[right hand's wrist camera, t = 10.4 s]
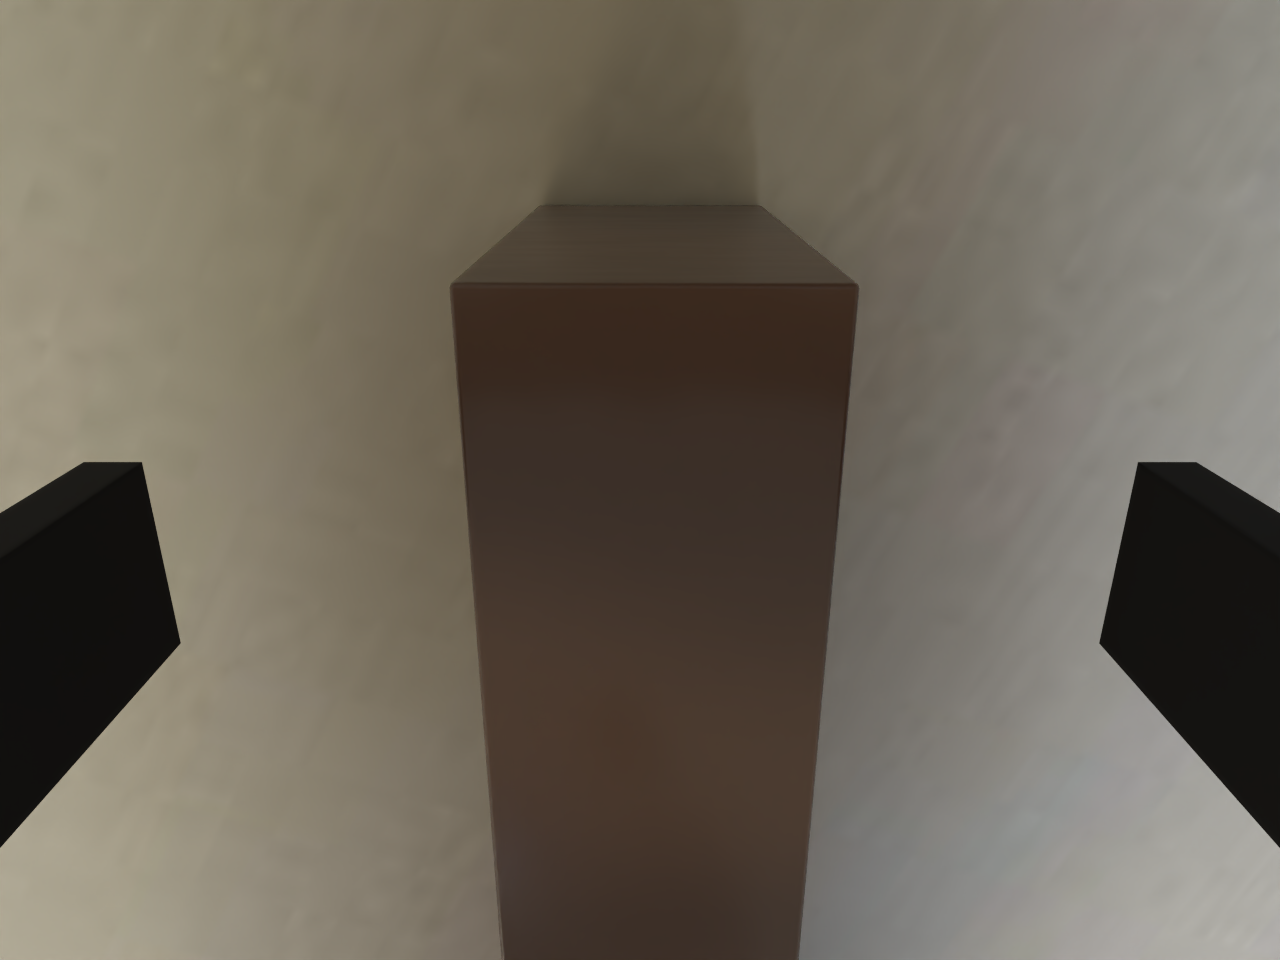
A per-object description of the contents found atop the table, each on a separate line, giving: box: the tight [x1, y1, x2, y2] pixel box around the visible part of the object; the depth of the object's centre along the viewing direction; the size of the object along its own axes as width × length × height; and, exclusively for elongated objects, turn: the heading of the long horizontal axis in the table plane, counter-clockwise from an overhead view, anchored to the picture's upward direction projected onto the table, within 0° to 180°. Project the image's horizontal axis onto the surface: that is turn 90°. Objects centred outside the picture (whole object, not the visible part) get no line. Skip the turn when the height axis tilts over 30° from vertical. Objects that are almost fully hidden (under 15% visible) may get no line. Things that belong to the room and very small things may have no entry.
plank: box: [450, 206, 859, 960], centre depth 22 cm, size 34×5×10 cm, turn 0°
